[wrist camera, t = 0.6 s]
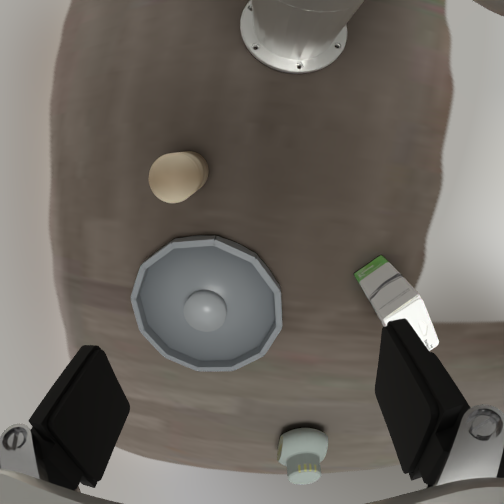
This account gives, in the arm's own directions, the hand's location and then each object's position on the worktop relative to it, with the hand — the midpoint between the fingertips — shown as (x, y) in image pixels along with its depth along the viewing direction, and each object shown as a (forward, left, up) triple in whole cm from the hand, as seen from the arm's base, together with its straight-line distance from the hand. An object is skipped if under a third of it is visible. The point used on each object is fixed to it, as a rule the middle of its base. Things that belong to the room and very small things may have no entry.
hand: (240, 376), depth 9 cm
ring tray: (+14, -8, -29) cm, 33 cm away
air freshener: (+45, +5, -30) cm, 54 cm away
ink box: (+13, +16, -30) cm, 36 cm away
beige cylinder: (-4, -8, -29) cm, 31 cm away
